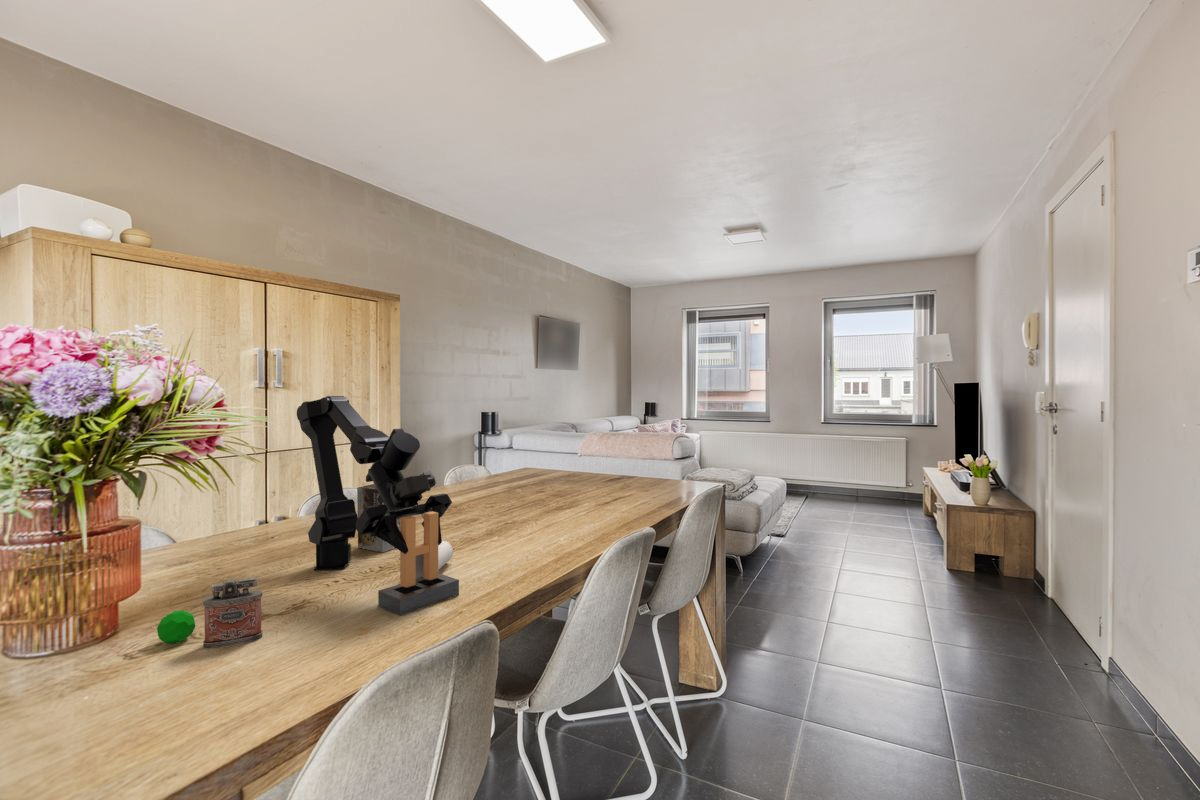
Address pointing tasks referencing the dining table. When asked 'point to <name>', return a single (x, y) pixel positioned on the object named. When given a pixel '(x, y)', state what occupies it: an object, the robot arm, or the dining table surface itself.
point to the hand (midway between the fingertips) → (423, 548)
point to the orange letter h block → (419, 549)
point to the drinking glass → (443, 557)
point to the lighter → (232, 614)
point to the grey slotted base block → (417, 594)
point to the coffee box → (364, 499)
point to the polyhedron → (176, 627)
